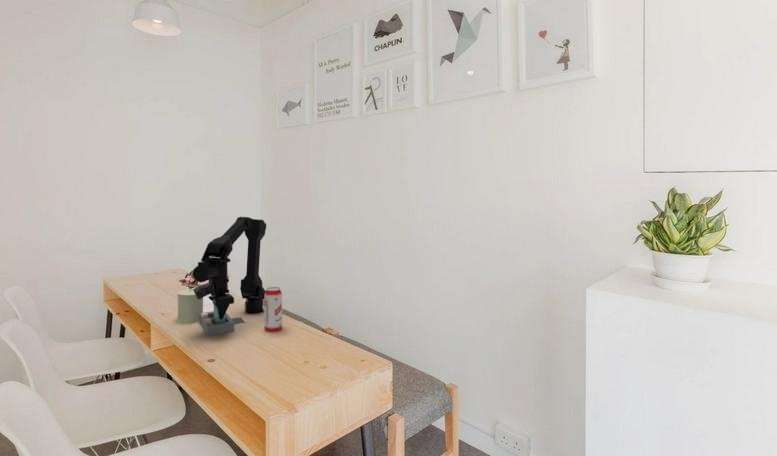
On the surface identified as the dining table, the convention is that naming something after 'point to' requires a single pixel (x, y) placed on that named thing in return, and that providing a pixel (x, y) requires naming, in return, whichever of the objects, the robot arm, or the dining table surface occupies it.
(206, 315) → the dock
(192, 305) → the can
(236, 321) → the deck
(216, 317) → the plug
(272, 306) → the beer can
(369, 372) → the dining table surface
